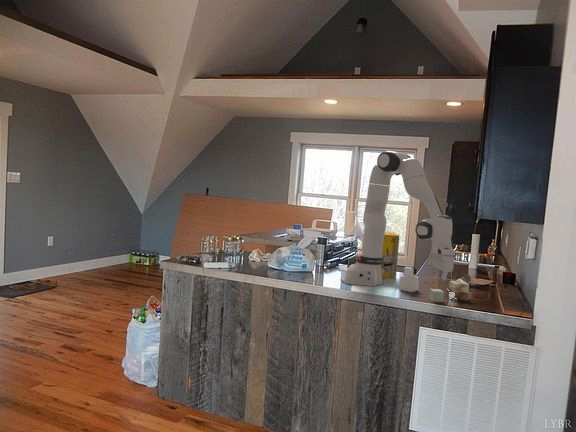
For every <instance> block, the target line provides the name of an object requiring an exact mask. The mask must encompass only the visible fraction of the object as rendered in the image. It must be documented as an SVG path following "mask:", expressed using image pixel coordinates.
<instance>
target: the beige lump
mask: <svg viewBox="0 0 576 432" xmlns="http://www.w3.org/2000/svg"><path fill="white" fill-rule="evenodd" d="M449 292H454V291H452V290H451V289H449V288H448V292H447V296H448V297H449ZM454 293H455V297H456V298H457V299H459V300H458V301H469V293H465V292H454Z"/></svg>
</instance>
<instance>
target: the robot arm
mask: <svg viewBox="0 0 576 432" xmlns="http://www.w3.org/2000/svg"><path fill="white" fill-rule="evenodd" d="M376 163H377V164H375V165H374V166H373V167H372V170H371V173H370V176H369V183H368V189H367V197H366V201H365V206H364V212H363V219H362V223H363V225H364V228H363V229H364V230H363V237H362V241H361V253H360V255H357V254H356V255H355V257H354V258H355V259H356V263H353V264H352V265H351V266H349V267H347V269H346V271H345V276H341V277H340V281H341V282H343V284H344V283H345V284H346V285H347V284H348V285H358V286H367V287H368V286H371V287H377V286H380V285H383V283H384V281H383V278H382V271H381V268H382V264H383V257H382V251H383V241H384V236H385V232H386V228H387V217H386V216H385V214H386V209H387V205H388V201H389V196H390V195H389V194H390V188H391V180H392V178H393V176H394V175H395V176H400V175H401V177H402V182H403V186H404V189H405V192H406V194H408V195H409V196H410V197H412V198H413V199H415V200H418V201H420V202H421V203H423V204H424V205H425V207H426V210H427V211H428V214H429V218H426V219H424V220H423V219H422V220H419V221H418V222H417V223H416V224H415V225H416V226H415V228H414V230H415V234H416V236H417V238H418V239H420V240H424V241H427V240H428V241H431V250H430V251H429V258H428V264H429V265H430V266H432V272H433V274H432V275H433V276H434V277H438V276H439V271H438V270H440V271H442V275H441V280H442V281H447V277H448V275H449V273H452V272H453V270H454V265H455V264H454V263H455V257H454V256H455V255H456V250H454V247H453V246H452V236H453V220H452V217H451V216H449V215H446V214H443V211H442V209H441V205H440V204H439V201H438V199H437V196H436V194H435V192H434V191H433V190H432V188H431V187H430V185H429V182H428V180H427V177H426V173H425V170H424V167H423V165H422V163H421V162H420V160H419V159H418V158H416V157H411V156H410V155H409V154H406V153H403V152H400V151H391V150H384V151H382V152H381V153H380V154H379V155H378V156H377V159H376Z"/></svg>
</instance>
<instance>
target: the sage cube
mask: <svg viewBox="0 0 576 432" xmlns="http://www.w3.org/2000/svg"><path fill="white" fill-rule="evenodd" d="M428 294H429V295H428V300H430V301H431V302H433V303H444V297H445V291H444V290H442V289H440V288H429V293H428Z"/></svg>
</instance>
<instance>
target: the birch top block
mask: <svg viewBox="0 0 576 432" xmlns="http://www.w3.org/2000/svg"><path fill="white" fill-rule="evenodd" d="M449 289H451V290H452V291H454V292H465V293H468V294H469V292H470V284H469V283H467V282H466V281H464V280H449V285H448V290H449Z"/></svg>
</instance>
